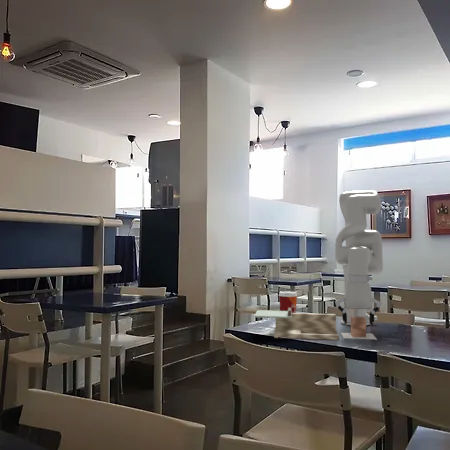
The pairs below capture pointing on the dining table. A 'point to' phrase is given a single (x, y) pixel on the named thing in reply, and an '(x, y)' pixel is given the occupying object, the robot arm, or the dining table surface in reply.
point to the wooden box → (307, 326)
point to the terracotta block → (358, 326)
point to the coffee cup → (288, 301)
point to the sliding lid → (273, 314)
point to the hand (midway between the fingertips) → (358, 323)
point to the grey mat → (349, 336)
